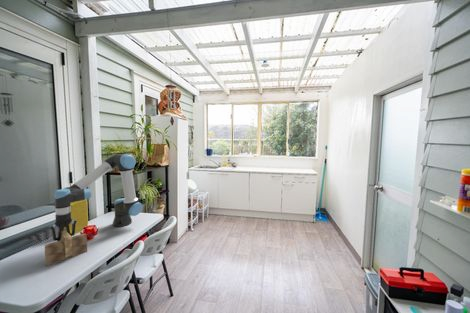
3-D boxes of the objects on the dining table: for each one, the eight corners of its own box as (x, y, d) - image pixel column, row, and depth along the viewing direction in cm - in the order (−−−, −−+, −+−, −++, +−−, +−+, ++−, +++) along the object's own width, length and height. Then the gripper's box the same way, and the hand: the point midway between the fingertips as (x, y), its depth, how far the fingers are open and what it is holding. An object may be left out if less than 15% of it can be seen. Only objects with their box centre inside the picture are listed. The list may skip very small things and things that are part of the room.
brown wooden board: (85, 250, 133) (85, 233, 133) (87, 251, 132) (86, 234, 131) (45, 264, 118) (44, 244, 117) (46, 266, 116) (45, 246, 115)
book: (70, 236, 152) (69, 205, 151) (63, 235, 154) (62, 204, 152) (90, 227, 169) (89, 199, 167) (84, 226, 170) (83, 198, 169)
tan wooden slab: (66, 247, 131) (65, 230, 130) (72, 254, 123) (71, 236, 122) (60, 249, 129) (59, 232, 128) (66, 257, 120) (65, 238, 120)
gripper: (77, 208, 135) (78, 241, 137) (45, 215, 122) (46, 251, 124) (80, 211, 131) (81, 245, 132) (47, 218, 118) (49, 255, 119)
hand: (64, 248), depth 128 cm, fingers closed on tan wooden slab, 3 cm apart
